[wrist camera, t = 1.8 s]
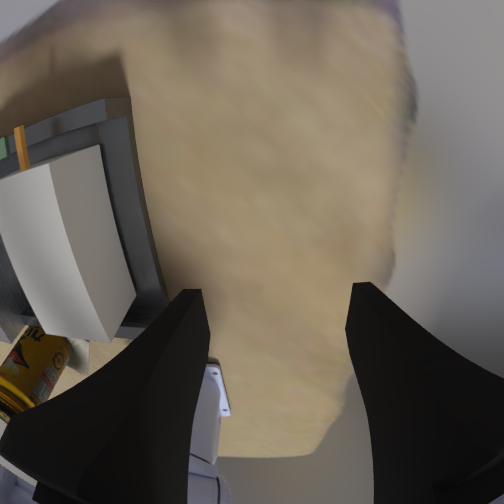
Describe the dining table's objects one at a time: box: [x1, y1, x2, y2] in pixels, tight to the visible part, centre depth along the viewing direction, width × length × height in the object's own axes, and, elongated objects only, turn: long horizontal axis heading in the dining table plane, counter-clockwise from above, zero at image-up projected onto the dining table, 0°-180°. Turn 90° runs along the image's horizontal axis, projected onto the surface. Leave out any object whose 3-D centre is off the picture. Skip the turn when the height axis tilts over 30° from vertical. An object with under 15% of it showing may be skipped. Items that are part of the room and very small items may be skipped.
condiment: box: [0, 326, 89, 424], centre depth 20 cm, size 7×8×12 cm
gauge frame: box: [0, 98, 170, 344], centre depth 16 cm, size 16×18×6 cm
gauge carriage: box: [0, 125, 136, 343], centre depth 15 cm, size 14×6×5 cm, turn 4°
